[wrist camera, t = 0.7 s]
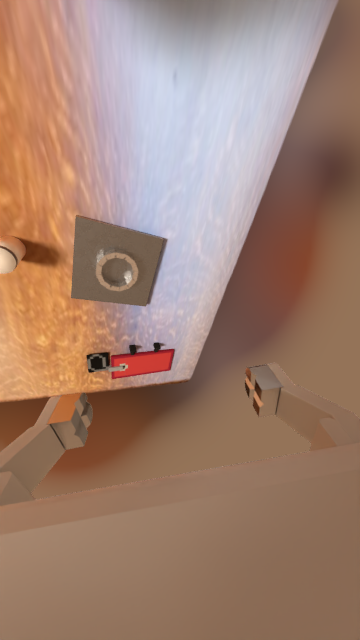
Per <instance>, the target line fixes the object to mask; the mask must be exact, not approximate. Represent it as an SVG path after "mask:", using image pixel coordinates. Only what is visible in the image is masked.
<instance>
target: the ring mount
mask: <svg viewBox="0 0 360 640" xmlns="http://www.w3.org/2000/svg"><path fill="white" fill-rule="evenodd" d="M163 241H164V239H163V238H162V237H158V236H154V235H150V234H147V233H143V232H139V231H135V230H131V229H128V228H124V227H120V226H116V225H112V224H109V223H105V222H101V221H97V220H93V219H90V218H86V217H82V216H78V215H76V222H75V240H74V257H73V275H72V292H71V298H76V299H85V300H94V301H103V302H112V303H121V304H130V305H139V306H146V305H147V301H148V297H149V293H150V290H151V286H152V282H153V278H154V275H155V271H156V267H157V263H158V259H159V256H160V252H161V248H162V244H163Z"/></svg>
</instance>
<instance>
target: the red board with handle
mask: <svg viewBox="0 0 360 640" xmlns="http://www.w3.org/2000/svg"><path fill="white" fill-rule="evenodd" d="M129 348H130V354H121V355H112V356H111V365H109V362H108V353H103V354H94V355H87V363H88V371H89V373H90V372H97V371H105V370H109V372H112V379H116V378H122V377H129V376H136V375H142V374H149V373H155V372H162V371H169V370H170V368H171V363H172V358H173V353H174V349H167V350H158V349H160V344H159V343H154V348H155V349H154V351H148V352H139V353H134V352H136V347H135V345H130V346H129ZM123 365H125V367H123Z"/></svg>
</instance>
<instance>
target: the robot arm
mask: <svg viewBox="0 0 360 640" xmlns="http://www.w3.org/2000/svg"><path fill="white" fill-rule="evenodd" d="M245 373H246V376H247V378H246V379H245V389H246V392H247V395H248V397H249V399H251V400H253V407H254V409H255V411H256V413H257V415H258V417H264V416H271V415H276V416H277V417H278V418H280V419H281V420H282V421H283V422H285V423H286V424H287V425H288V426H290V427H291V428H292V429H293V430H295V431H296V432H297V433H299V434H300V435H301V436H302V437H304V438H305V439H306V440H308V441H309V442H310V443H311V447H310V450H309V451H308V452H303V453H297V454H291V455H286V456H280V457H274V458H269V459H263V460H257V461H252V462H246V463H241V464H235V465H230V466H224V467H218V468H212V469H206V470H201V471H195V472H189V473H185V474H178V475H173V476H167V477H161V478H156V479H150V480H144V481H139V482H133V483H128V484H122V485H117V486H110V487H105V488H99V489H93V490H88V491H83V492H76V493H71V494H65V495H59V496H54V497H48V498H43V499H37V500H36V499H35V498H34V497H33V496H32V494H31V493H32V492H33V490H34V489H35V488H36V487H37V485H38V484H39V483H40V482H41V480H42V479H43V478H44V477H45V475H46V474H47V473H48V472H49V471H50V469H51V468H52V466H54V464H55V463H56V462H57V460H58V459H59V458H60V457H61V456H62V454H63V453H64V452H65V450H66V449H71V448H77V447H82V446H84V444H85V441H86V438H87V435H88V431H87V429H86V428H87V427H88V426H89V425H90V424H91V421H92V407H91V405H90V404H89V403H88V402H86V401H87V396H86V394H85V393H75V394H67V395H61V396H53V397H51V398H50V399H49V400H48V402H47V404H46V406H45V408H44V409H43V411H42V413H41V415H40V417H39V419H38V420H37V422H36V424H35V426H34V427H31V428H29V429H28V430H27V431H25V432H24V433H23V434H22V435H21V436H20V437H18V438H17V439H16V440H15V441H13V442H12V443H11V444H10V445H9V446H7V447H6V448H5V449H4V450H3V451H1V452H0V640H360V419H359V418H358V417H357V416H356V415H355V414H354V413H353V412H351V411H349V410H347V409H345V408H343V407H341V406H339V405H337V404H335V403H333V402H331V401H329V400H327V399H325V398H323V397H321V396H319V395H317V394H315V393H313V392H311V391H309V390H307V389H305V388H303V387H301V386H299V385H294V384H293V382H292V381H291V380H290V379H289V378H288V376H287V375H286V374H285V373H284V372H283V370H282V369H281V368H280V367H279V365H278V364H277V363H271V364H266V365H259V366H253V367H247V368H246V372H245Z"/></svg>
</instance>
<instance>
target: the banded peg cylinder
mask: <svg viewBox="0 0 360 640" xmlns="http://www.w3.org/2000/svg"><path fill="white" fill-rule="evenodd" d="M25 253H26V248H25V245H24V244H23V243H22V242H21V241H20V240H19V239H17V238H15V237H13V236H3V237H1V238H0V273H10V272H12V271H13V270H14V269H15V268H16V267H17V265H18V263H19V262H20V261H21V259H22V258H23V257H24V255H25Z"/></svg>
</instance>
